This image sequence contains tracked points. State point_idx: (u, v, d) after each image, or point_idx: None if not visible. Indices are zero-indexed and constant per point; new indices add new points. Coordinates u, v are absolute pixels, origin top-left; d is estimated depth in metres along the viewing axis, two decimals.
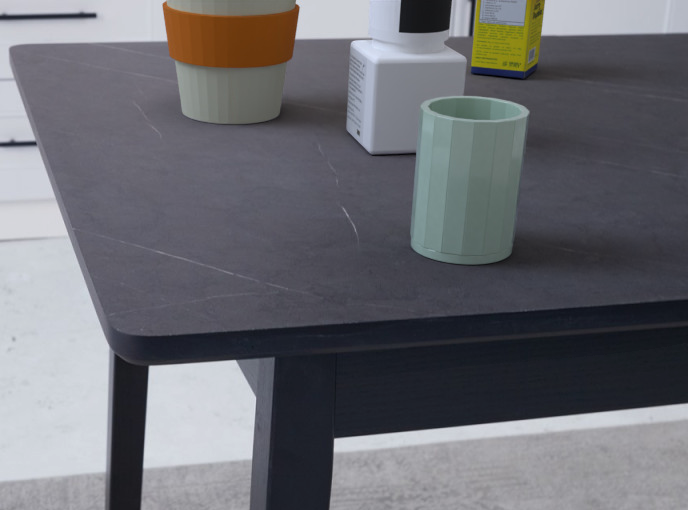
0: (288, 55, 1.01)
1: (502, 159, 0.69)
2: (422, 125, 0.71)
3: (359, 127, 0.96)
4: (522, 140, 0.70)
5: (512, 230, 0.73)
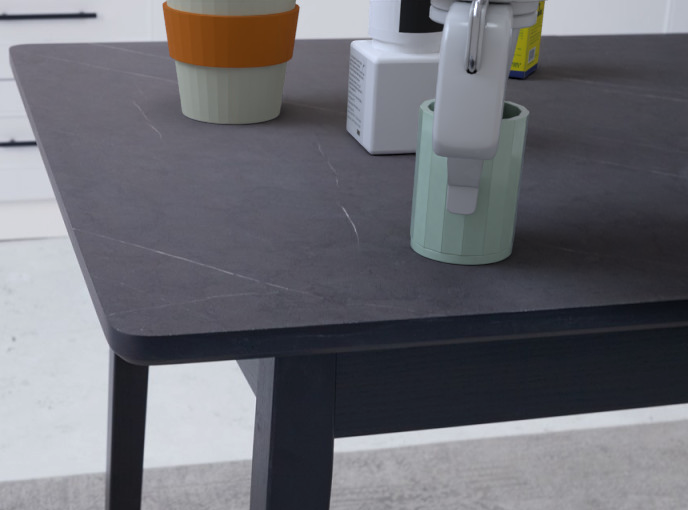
0: (288, 55, 1.01)
1: (502, 159, 0.69)
2: (422, 125, 0.71)
3: (359, 127, 0.96)
4: (522, 140, 0.70)
5: (512, 230, 0.73)
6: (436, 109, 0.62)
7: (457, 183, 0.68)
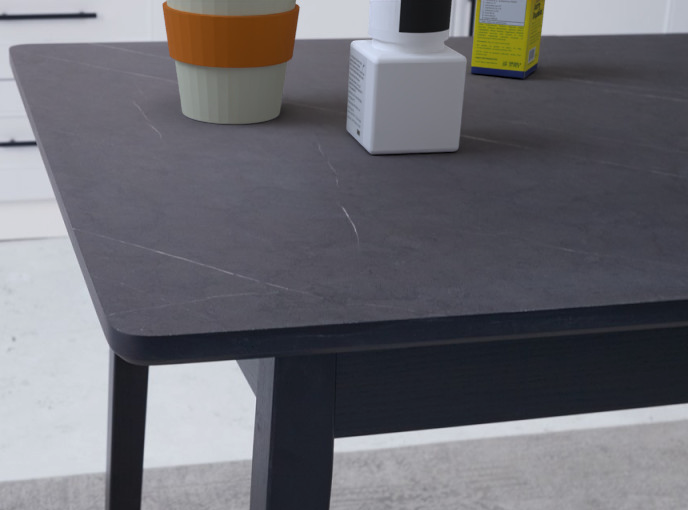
0: (288, 55, 1.01)
1: None
2: None
3: (359, 127, 0.96)
4: None
5: None
6: None
7: None
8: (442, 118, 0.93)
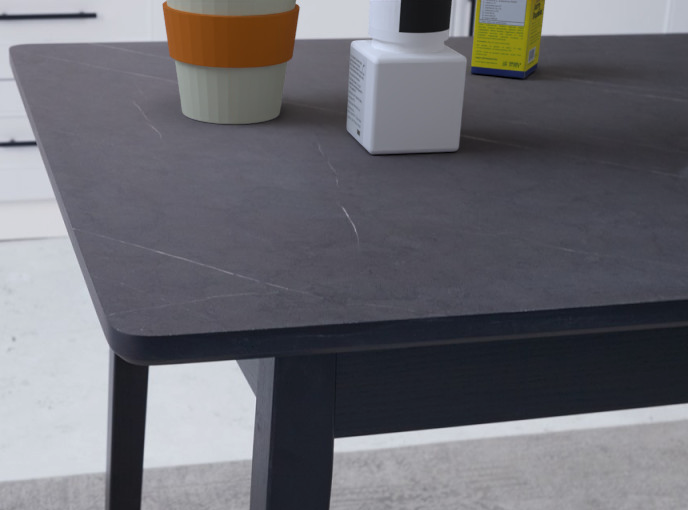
0: (288, 55, 1.01)
1: None
2: None
3: (359, 127, 0.96)
4: None
5: None
6: None
7: None
8: (442, 118, 0.93)
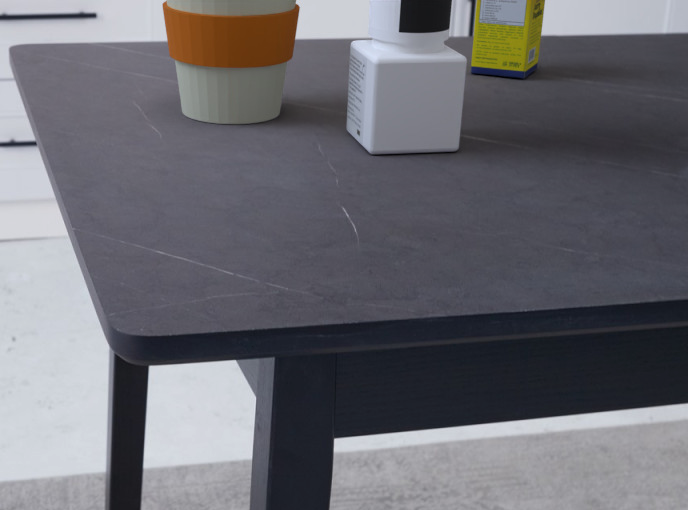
0: (288, 55, 1.01)
1: None
2: None
3: (359, 127, 0.96)
4: None
5: None
6: None
7: None
8: (442, 118, 0.93)
